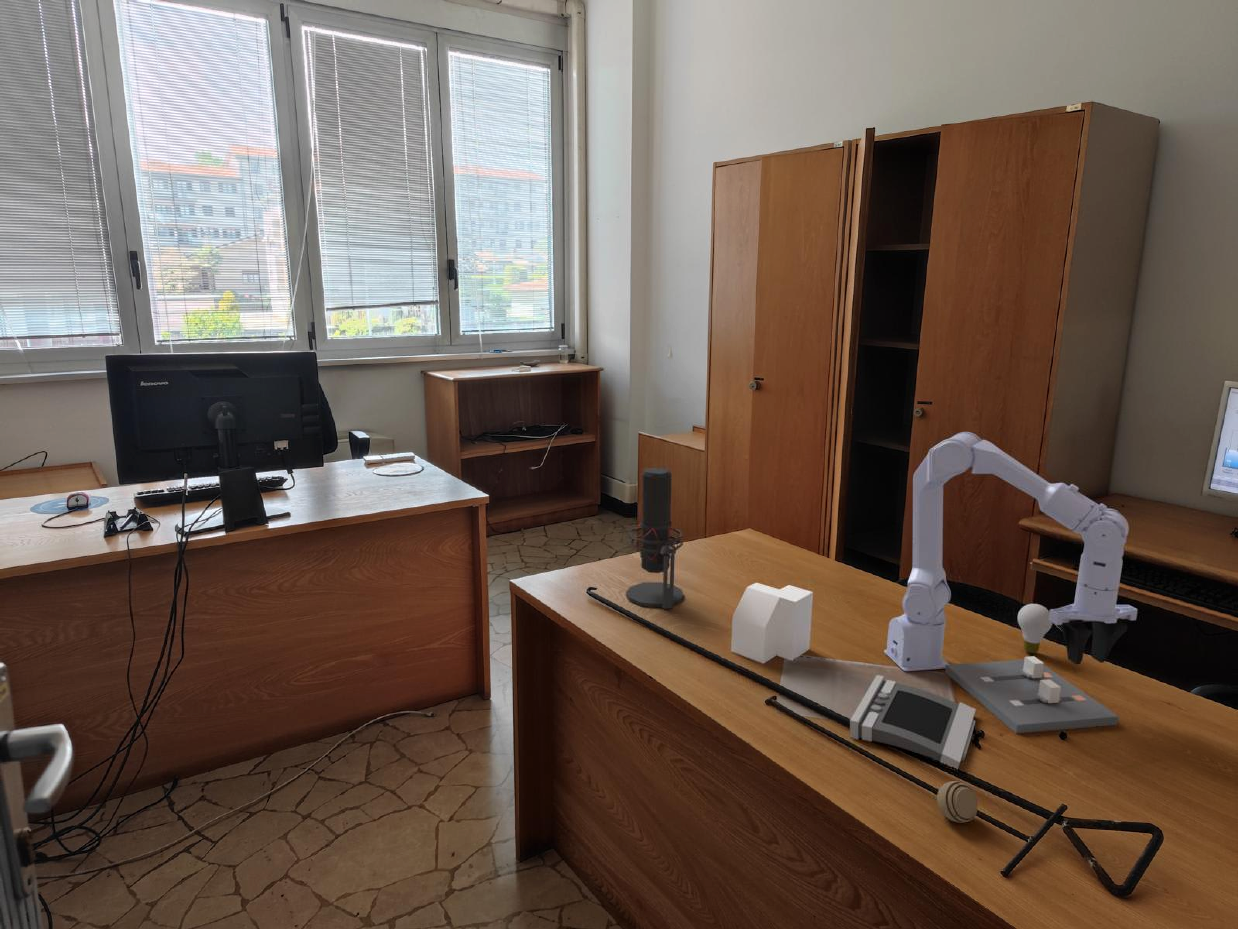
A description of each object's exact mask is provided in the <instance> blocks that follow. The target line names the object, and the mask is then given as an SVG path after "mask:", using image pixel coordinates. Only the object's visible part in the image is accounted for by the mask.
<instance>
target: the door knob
mask: <svg viewBox="0 0 1238 929" xmlns="http://www.w3.org/2000/svg"><path fill="white" fill-rule="evenodd" d="M936 802H937V805H938V809H939V810H940V812H941V813H942V814H943V816H945V817H946V818H947V819H948V820H950V821H952V822H954V823H960V824H961V823H962V824H963V823H969V822H971V821H972V820H973V819H974V818H975V817H976V815H977V812H978V807H979V804H978V798H977V795H976V793H975V791H974V790H973V789H972V787H970V785H968V784H966V783H964V782H961V781H956V780H954V781H953V780H952V781H947V782H945V783H944V784H942V786H940V788H939V789H938V791H937V795H936Z"/></svg>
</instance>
